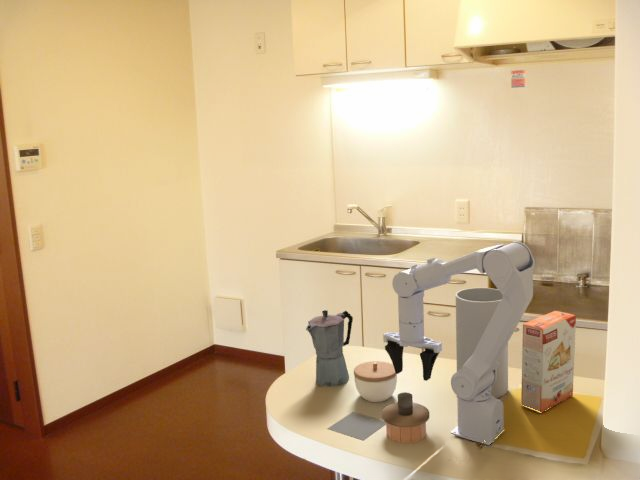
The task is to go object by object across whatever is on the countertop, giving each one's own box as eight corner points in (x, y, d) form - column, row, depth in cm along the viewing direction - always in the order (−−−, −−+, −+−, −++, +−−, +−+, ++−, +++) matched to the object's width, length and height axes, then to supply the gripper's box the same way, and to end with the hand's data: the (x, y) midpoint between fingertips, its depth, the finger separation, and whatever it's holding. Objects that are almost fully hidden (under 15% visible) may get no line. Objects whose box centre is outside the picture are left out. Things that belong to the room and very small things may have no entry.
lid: (438, 412, 148) (437, 392, 147) (413, 431, 140) (413, 410, 139) (398, 401, 154) (397, 382, 153) (372, 419, 147) (371, 398, 146)
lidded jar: (396, 408, 161) (394, 372, 159) (352, 407, 163) (350, 370, 161) (399, 389, 171) (398, 355, 169) (358, 388, 173) (356, 354, 172)
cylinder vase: (476, 375, 177) (475, 284, 172) (517, 389, 168) (518, 293, 163) (446, 390, 169) (445, 295, 164) (488, 405, 160) (488, 305, 155)
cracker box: (542, 415, 153) (543, 328, 149) (520, 407, 158) (520, 323, 154) (575, 396, 162) (577, 314, 158) (552, 389, 167) (554, 309, 163)
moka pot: (299, 384, 178) (295, 312, 174) (341, 367, 188) (337, 299, 184) (324, 394, 171) (319, 320, 167) (365, 376, 181) (362, 305, 177)
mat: (388, 424, 153) (388, 422, 153) (363, 442, 146) (363, 440, 146) (353, 413, 160) (353, 411, 159) (327, 430, 152) (327, 428, 152)
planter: (433, 431, 149) (432, 413, 148) (413, 448, 142) (412, 428, 141) (400, 422, 154) (399, 403, 153) (379, 437, 148) (378, 418, 147)
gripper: (375, 320, 155) (377, 375, 158) (430, 330, 146) (431, 388, 149) (391, 311, 160) (393, 365, 163) (445, 321, 151) (446, 377, 154)
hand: (412, 375), depth 156 cm, fingers open, 7 cm apart
